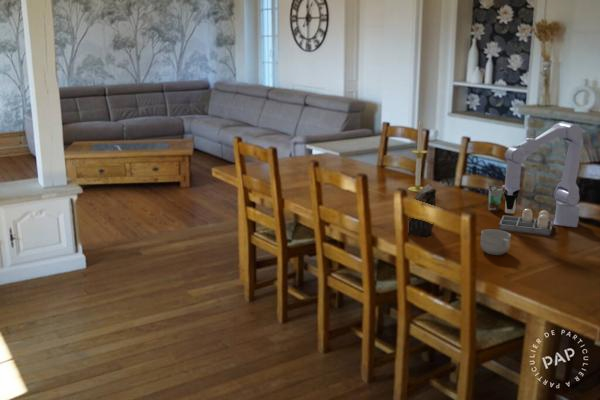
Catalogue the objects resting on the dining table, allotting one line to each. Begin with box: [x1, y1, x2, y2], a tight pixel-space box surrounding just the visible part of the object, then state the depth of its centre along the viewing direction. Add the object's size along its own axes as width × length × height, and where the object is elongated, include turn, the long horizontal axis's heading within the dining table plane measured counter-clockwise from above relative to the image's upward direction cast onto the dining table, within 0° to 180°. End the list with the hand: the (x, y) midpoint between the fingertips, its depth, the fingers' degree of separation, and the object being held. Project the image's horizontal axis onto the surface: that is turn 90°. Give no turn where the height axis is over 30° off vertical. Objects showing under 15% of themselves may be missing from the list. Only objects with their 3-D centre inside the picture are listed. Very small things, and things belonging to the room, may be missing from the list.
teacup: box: [480, 228, 512, 256], centre depth 239 cm, size 14×11×8 cm
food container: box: [487, 184, 505, 212], centre depth 295 cm, size 12×6×10 cm, turn 168°
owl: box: [408, 183, 437, 239], centre depth 261 cm, size 13×13×20 cm
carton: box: [498, 215, 554, 237], centre depth 269 cm, size 20×14×2 cm
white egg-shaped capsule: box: [504, 198, 517, 214], centre depth 266 cm, size 4×4×7 cm
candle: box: [407, 118, 428, 193], centre depth 326 cm, size 10×10×38 cm
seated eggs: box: [521, 208, 550, 229], centre depth 267 cm, size 11×11×7 cm
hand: (510, 207), depth 266 cm, fingers closed on white egg-shaped capsule, 4 cm apart
